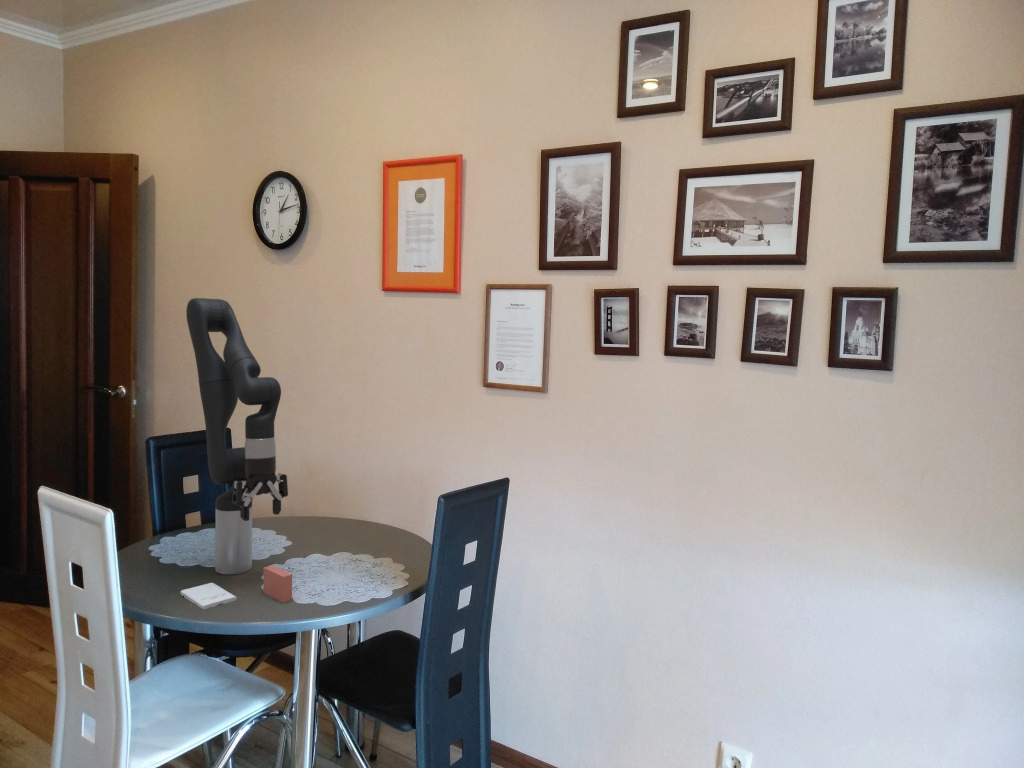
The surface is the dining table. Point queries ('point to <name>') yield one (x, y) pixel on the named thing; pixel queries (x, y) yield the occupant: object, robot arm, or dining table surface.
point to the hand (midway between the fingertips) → (261, 517)
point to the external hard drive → (208, 595)
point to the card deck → (277, 583)
